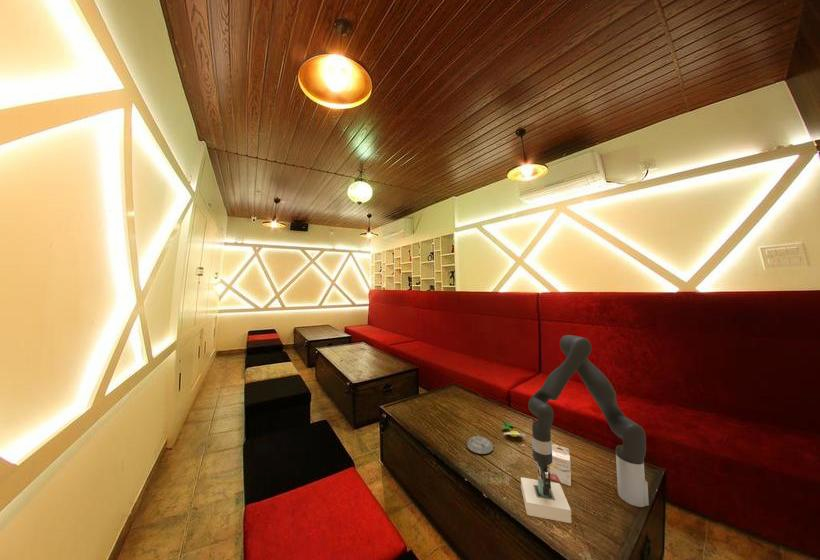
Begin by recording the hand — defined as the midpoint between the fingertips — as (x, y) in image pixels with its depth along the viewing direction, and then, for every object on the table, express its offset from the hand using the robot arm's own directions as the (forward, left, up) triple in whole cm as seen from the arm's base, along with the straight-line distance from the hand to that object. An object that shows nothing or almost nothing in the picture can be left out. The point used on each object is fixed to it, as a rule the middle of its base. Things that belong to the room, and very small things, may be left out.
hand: (543, 487), depth 107 cm
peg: (0, 0, -7) cm, 7 cm away
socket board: (0, 0, -7) cm, 7 cm away
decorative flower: (+8, -56, -7) cm, 57 cm away
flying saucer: (+26, -34, -8) cm, 43 cm away
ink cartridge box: (-11, -17, -7) cm, 22 cm away
